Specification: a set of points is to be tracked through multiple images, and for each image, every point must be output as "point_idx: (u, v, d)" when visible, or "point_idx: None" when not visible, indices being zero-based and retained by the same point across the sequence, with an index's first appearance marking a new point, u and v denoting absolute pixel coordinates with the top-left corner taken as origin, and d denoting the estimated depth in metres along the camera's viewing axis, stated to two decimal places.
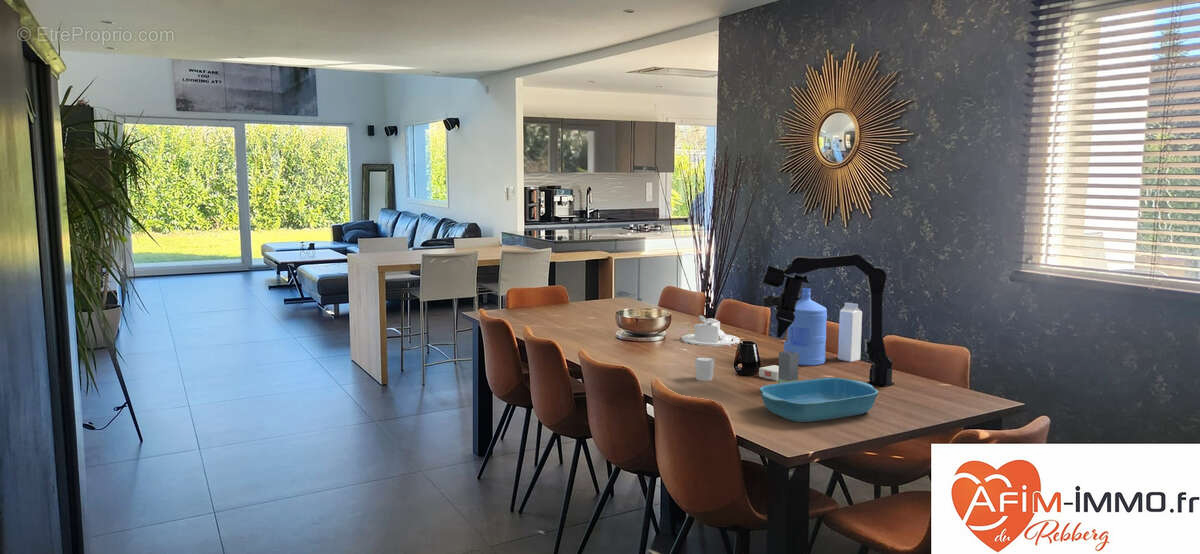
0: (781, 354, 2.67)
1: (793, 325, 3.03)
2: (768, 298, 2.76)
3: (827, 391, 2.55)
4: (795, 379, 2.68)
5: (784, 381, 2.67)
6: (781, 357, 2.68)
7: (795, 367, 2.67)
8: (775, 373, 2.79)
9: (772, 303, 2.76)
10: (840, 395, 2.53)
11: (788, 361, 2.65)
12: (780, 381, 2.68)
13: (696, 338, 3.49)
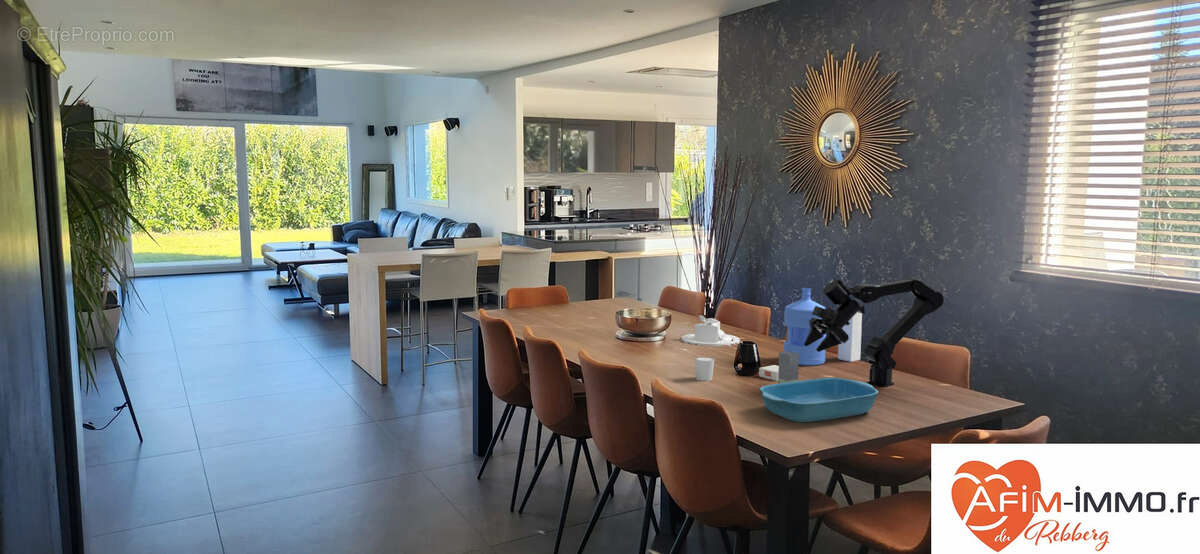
0: (781, 354, 2.67)
1: (793, 325, 3.03)
2: (828, 310, 2.64)
3: (826, 391, 2.55)
4: (795, 379, 2.68)
5: (784, 381, 2.67)
6: (781, 357, 2.68)
7: (795, 367, 2.67)
8: (775, 373, 2.79)
9: (828, 316, 2.64)
10: (840, 395, 2.53)
11: (788, 361, 2.65)
12: (780, 381, 2.68)
13: (696, 338, 3.49)
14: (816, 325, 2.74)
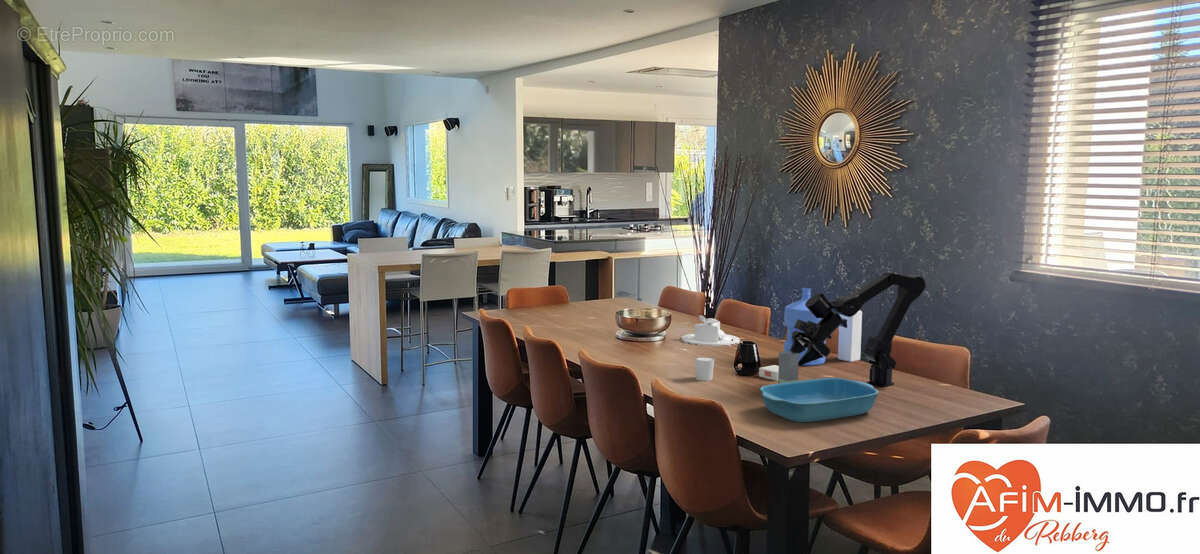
0: (781, 354, 2.67)
1: (793, 325, 3.03)
2: (810, 324, 2.63)
3: (827, 391, 2.54)
4: (795, 379, 2.68)
5: (784, 381, 2.67)
6: (781, 357, 2.68)
7: (795, 367, 2.67)
8: (775, 373, 2.79)
9: (810, 330, 2.64)
10: (840, 395, 2.53)
11: (788, 361, 2.65)
12: (780, 381, 2.68)
13: (696, 338, 3.49)
14: (798, 338, 2.74)
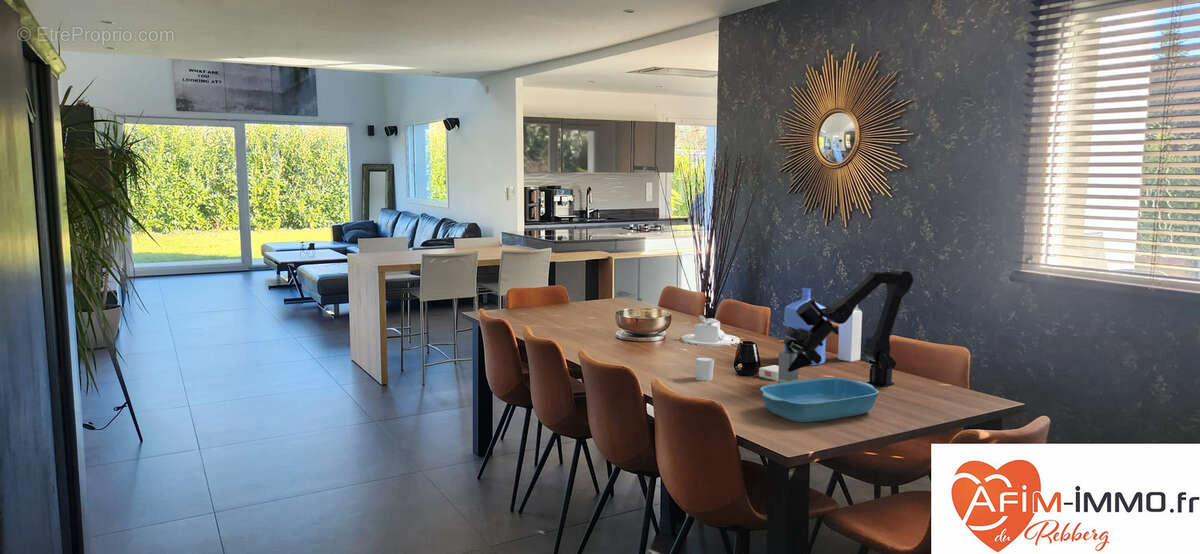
0: (781, 354, 2.67)
1: (793, 325, 3.03)
2: (801, 331, 2.63)
3: (827, 391, 2.54)
4: (795, 379, 2.68)
5: (784, 381, 2.67)
6: (780, 357, 2.68)
7: None
8: (775, 373, 2.79)
9: (802, 338, 2.63)
10: (840, 395, 2.53)
11: (788, 361, 2.65)
12: (780, 381, 2.68)
13: (696, 338, 3.49)
14: (792, 346, 2.72)
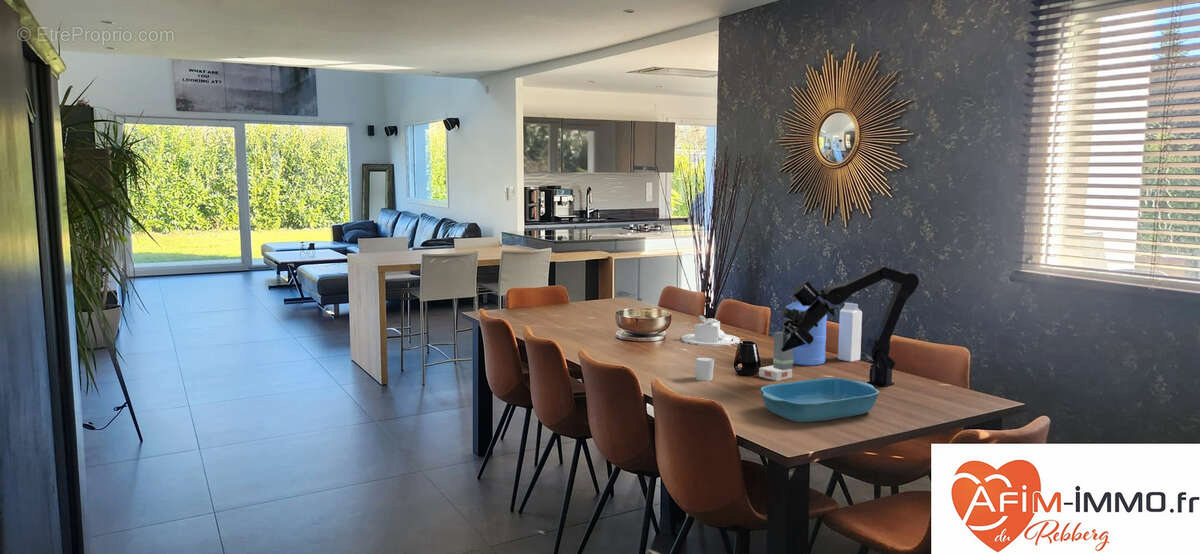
0: (776, 334, 2.71)
1: None
2: (794, 311, 2.66)
3: (827, 391, 2.54)
4: (790, 359, 2.71)
5: (778, 361, 2.71)
6: (775, 337, 2.72)
7: None
8: (775, 373, 2.79)
9: (795, 318, 2.67)
10: (841, 395, 2.53)
11: (782, 341, 2.69)
12: (775, 361, 2.72)
13: (696, 338, 3.49)
14: (789, 327, 2.75)
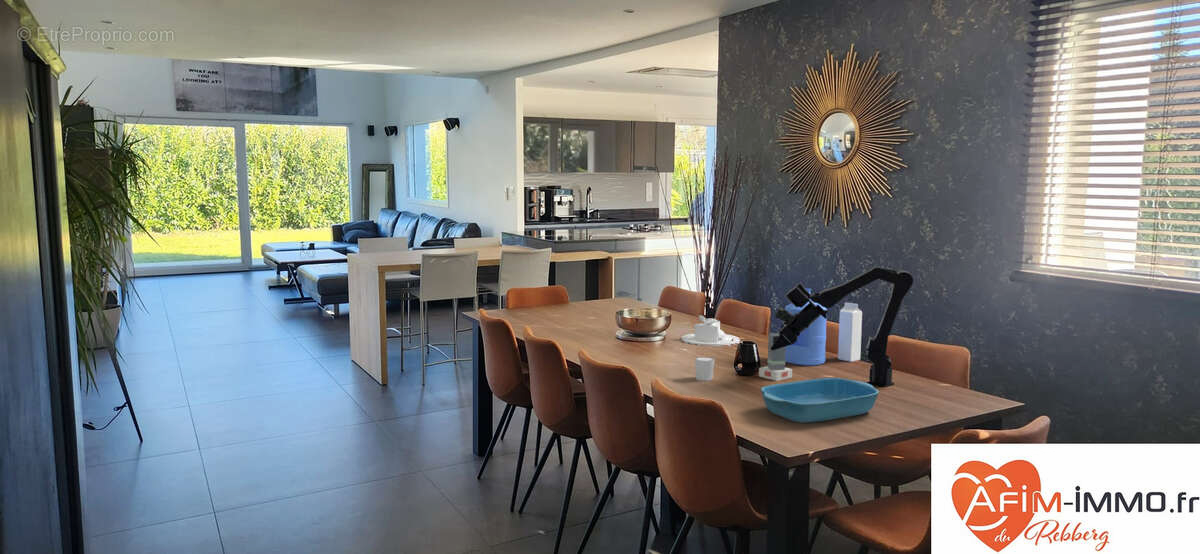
0: (769, 335, 2.84)
1: None
2: (783, 312, 2.77)
3: (826, 391, 2.54)
4: (781, 360, 2.82)
5: (770, 361, 2.83)
6: (769, 338, 2.84)
7: (781, 349, 2.82)
8: (775, 373, 2.79)
9: (783, 318, 2.78)
10: (840, 395, 2.53)
11: (772, 342, 2.81)
12: (768, 361, 2.85)
13: (696, 338, 3.49)
14: (786, 326, 2.87)
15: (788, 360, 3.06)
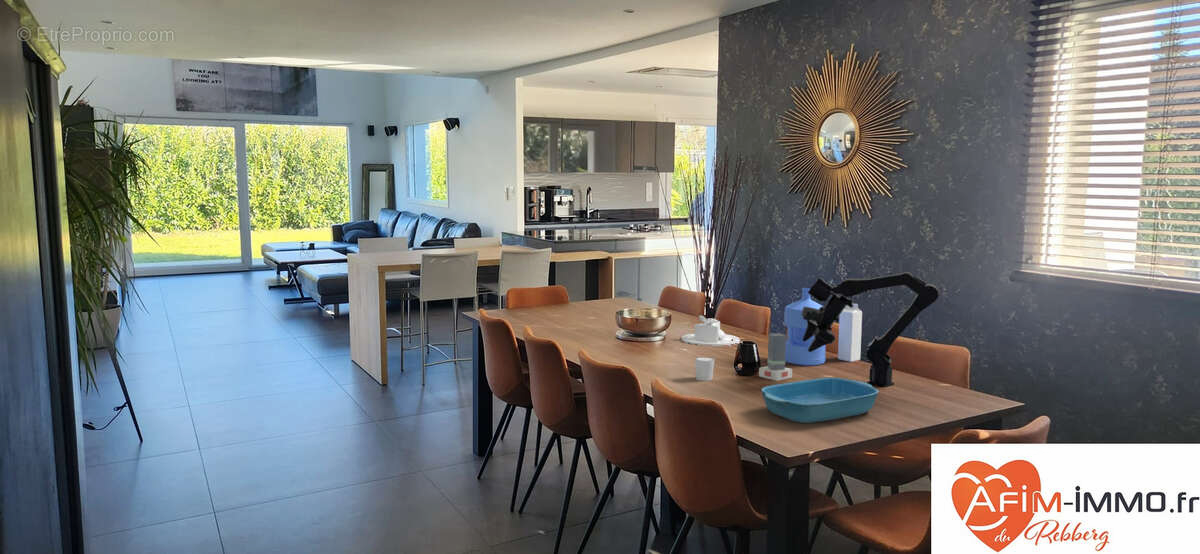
0: (769, 335, 2.84)
1: (793, 325, 3.03)
2: (812, 314, 2.75)
3: (825, 391, 2.55)
4: (781, 360, 2.82)
5: (770, 361, 2.83)
6: (769, 338, 2.84)
7: (781, 349, 2.82)
8: (775, 373, 2.79)
9: (814, 319, 2.76)
10: (838, 395, 2.54)
11: (772, 342, 2.81)
12: (768, 361, 2.85)
13: (696, 338, 3.49)
14: (812, 320, 2.86)
15: (788, 360, 3.06)
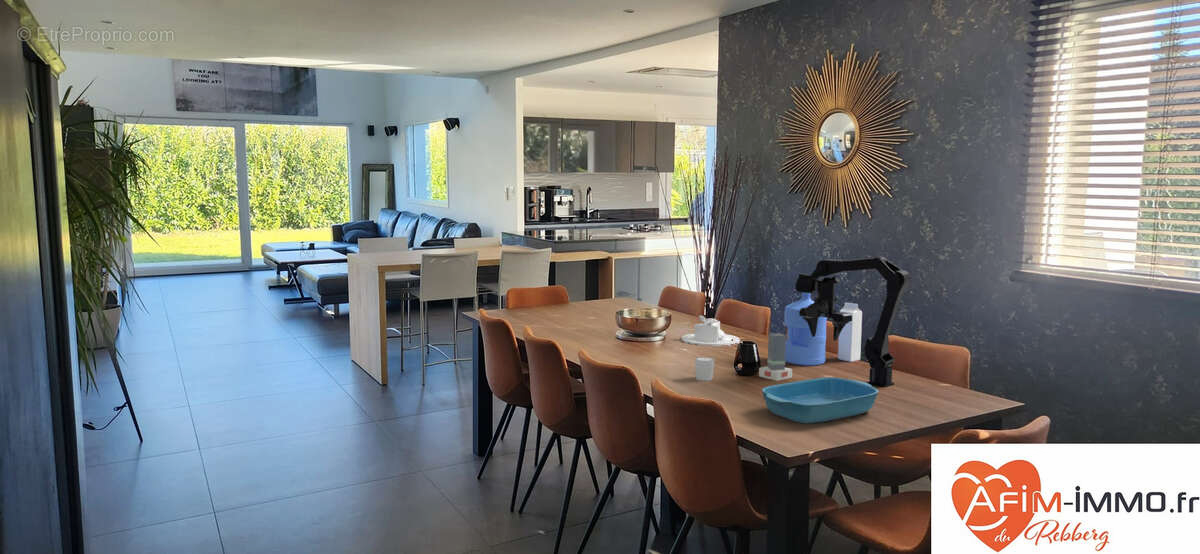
0: (769, 335, 2.84)
1: (793, 325, 3.03)
2: (823, 308, 2.78)
3: (824, 391, 2.55)
4: (781, 360, 2.82)
5: (770, 361, 2.83)
6: (769, 338, 2.84)
7: (781, 349, 2.82)
8: (775, 373, 2.79)
9: (826, 312, 2.79)
10: (837, 395, 2.54)
11: (772, 342, 2.81)
12: (768, 361, 2.85)
13: (696, 338, 3.49)
14: None
15: (788, 360, 3.06)
